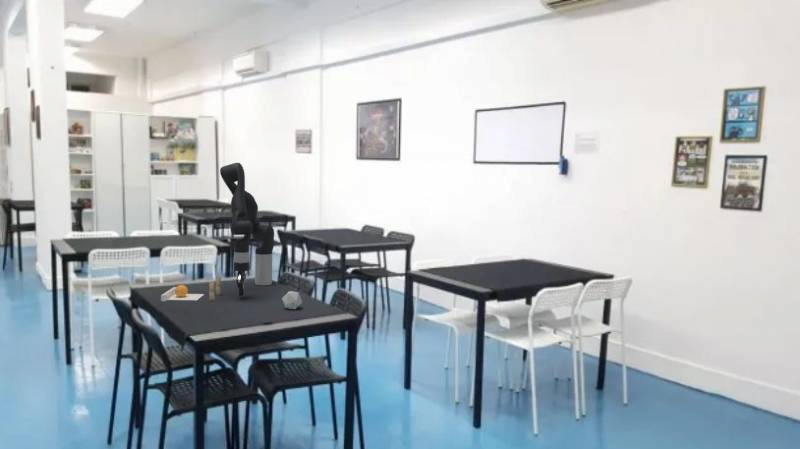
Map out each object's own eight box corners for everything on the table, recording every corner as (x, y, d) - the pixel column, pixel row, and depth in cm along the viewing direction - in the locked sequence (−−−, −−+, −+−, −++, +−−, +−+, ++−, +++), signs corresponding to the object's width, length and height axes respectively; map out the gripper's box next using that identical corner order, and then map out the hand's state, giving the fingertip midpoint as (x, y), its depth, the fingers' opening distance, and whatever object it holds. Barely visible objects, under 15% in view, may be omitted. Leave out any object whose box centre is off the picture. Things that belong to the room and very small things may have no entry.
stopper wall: (173, 292, 306) (173, 287, 306) (177, 292, 307) (177, 287, 306) (161, 301, 287) (161, 295, 286) (165, 301, 287) (165, 295, 286)
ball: (180, 282, 300) (191, 287, 300) (174, 292, 300) (185, 298, 300) (176, 283, 294) (188, 289, 294) (171, 294, 294) (182, 300, 294)
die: (286, 312, 274) (299, 296, 274) (275, 301, 278) (288, 284, 278) (295, 315, 282) (308, 299, 281) (284, 304, 286) (297, 288, 286)
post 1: (209, 299, 293) (210, 281, 292) (214, 300, 293) (215, 281, 292) (208, 301, 290) (208, 282, 289) (213, 301, 290) (213, 282, 290)
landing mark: (176, 294, 304) (176, 293, 304) (204, 294, 305) (204, 294, 305) (167, 300, 290) (167, 299, 290) (196, 300, 291) (197, 300, 291)
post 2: (216, 294, 306) (216, 276, 305) (221, 294, 306) (221, 276, 305) (215, 295, 304) (215, 277, 303) (220, 295, 304) (220, 277, 303)
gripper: (236, 258, 303) (236, 292, 304) (231, 262, 290) (230, 298, 291) (251, 259, 303) (251, 292, 305) (246, 263, 290) (246, 298, 292)
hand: (241, 295), depth 298 cm, fingers closed
